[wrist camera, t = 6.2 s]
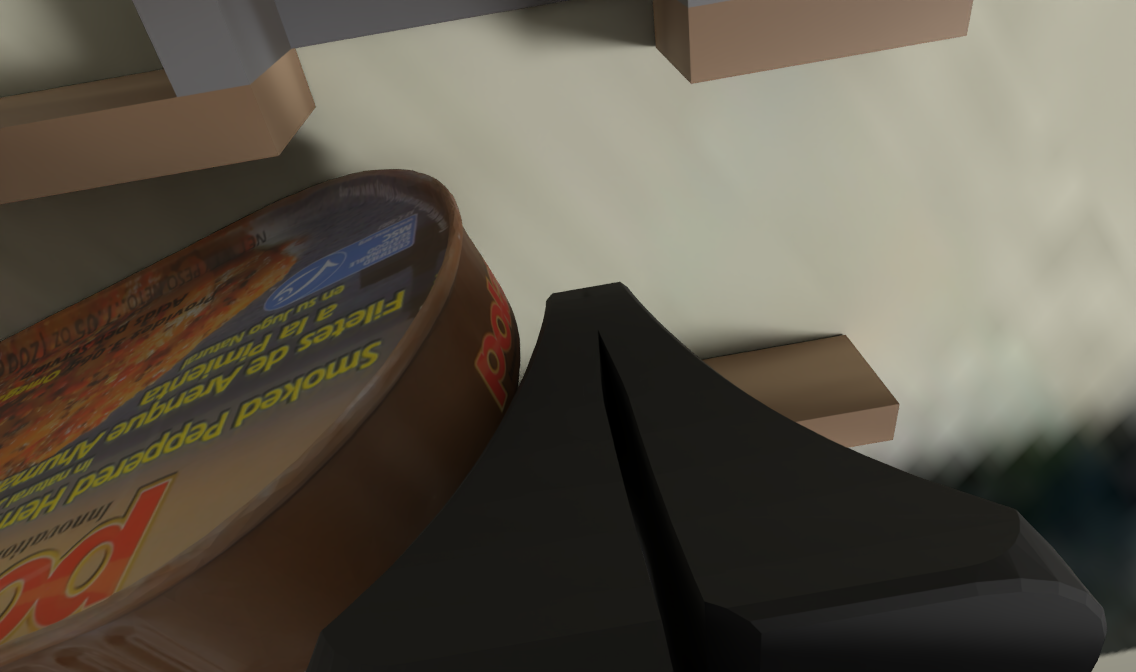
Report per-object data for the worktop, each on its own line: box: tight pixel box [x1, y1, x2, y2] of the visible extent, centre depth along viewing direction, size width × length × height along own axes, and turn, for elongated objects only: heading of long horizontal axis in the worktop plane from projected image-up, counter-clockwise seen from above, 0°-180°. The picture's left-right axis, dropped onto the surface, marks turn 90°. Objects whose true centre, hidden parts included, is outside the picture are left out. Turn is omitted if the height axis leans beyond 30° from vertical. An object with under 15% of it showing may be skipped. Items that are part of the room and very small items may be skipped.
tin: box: [0, 169, 520, 672], centre depth 11 cm, size 15×3×8 cm, turn 114°
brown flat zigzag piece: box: [0, 0, 973, 448], centre depth 13 cm, size 17×22×2 cm
